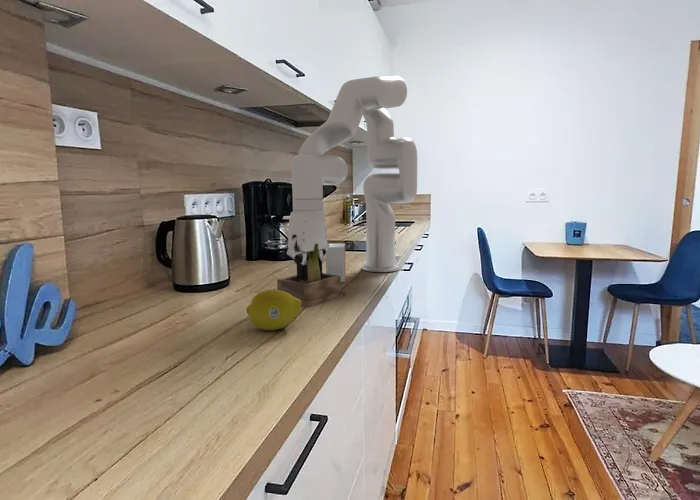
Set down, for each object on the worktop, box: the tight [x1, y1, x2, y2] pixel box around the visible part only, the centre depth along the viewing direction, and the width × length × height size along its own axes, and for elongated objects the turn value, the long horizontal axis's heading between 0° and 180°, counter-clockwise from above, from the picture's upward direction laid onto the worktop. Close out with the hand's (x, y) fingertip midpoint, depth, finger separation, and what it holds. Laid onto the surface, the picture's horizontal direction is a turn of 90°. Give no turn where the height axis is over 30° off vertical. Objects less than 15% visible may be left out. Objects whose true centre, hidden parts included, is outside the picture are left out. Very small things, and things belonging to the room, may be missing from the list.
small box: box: [325, 243, 346, 283], centre depth 128 cm, size 8×6×10 cm
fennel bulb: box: [300, 244, 321, 283], centre depth 108 cm, size 6×5×12 cm
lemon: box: [246, 289, 302, 331], centre depth 85 cm, size 11×8×8 cm
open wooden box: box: [276, 272, 346, 308], centre depth 109 cm, size 14×12×5 cm
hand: (309, 277), depth 109 cm, fingers closed on fennel bulb, 4 cm apart
